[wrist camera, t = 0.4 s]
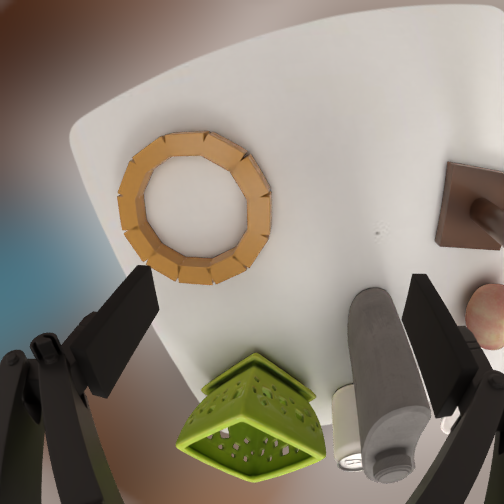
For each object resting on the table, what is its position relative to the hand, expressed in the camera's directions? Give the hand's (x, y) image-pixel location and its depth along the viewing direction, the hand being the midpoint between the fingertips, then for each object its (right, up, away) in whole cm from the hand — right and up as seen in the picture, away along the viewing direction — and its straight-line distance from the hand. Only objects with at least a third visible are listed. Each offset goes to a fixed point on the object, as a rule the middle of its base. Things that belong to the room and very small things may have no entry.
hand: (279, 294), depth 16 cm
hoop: (-7, +7, +18) cm, 21 cm away
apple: (+28, -4, +19) cm, 34 cm away
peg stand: (+23, +7, +14) cm, 28 cm away
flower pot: (0, -17, +29) cm, 34 cm away
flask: (+14, -9, +23) cm, 28 cm away
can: (+14, -19, +28) cm, 37 cm away
